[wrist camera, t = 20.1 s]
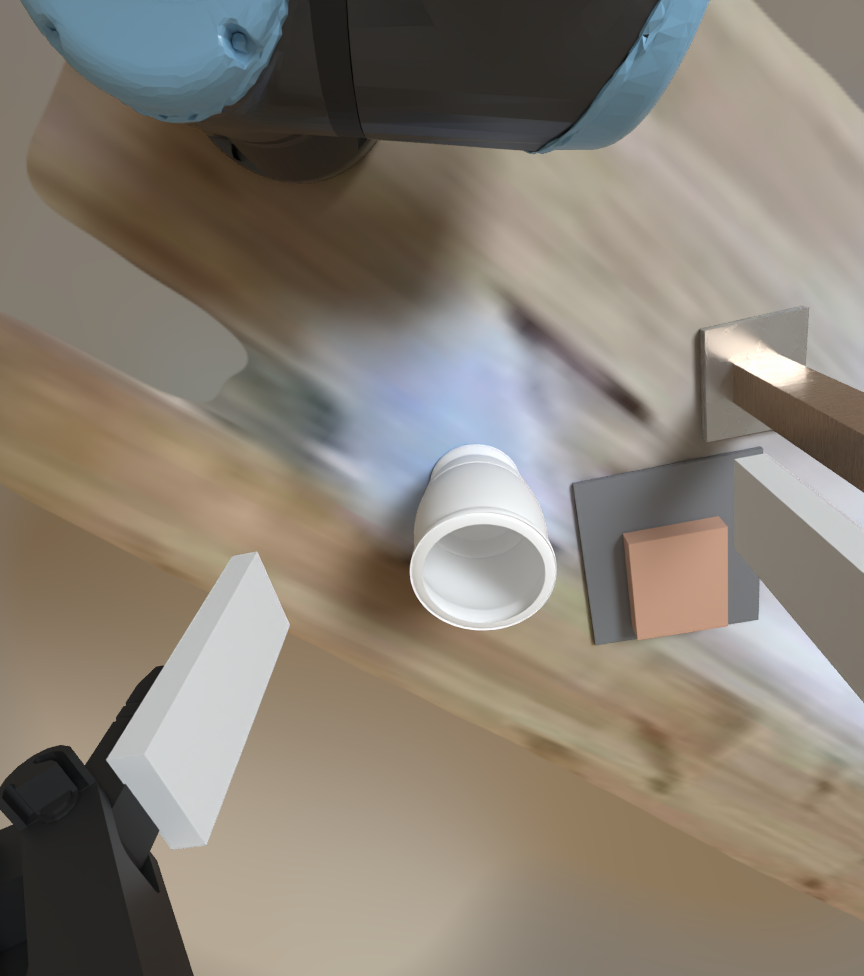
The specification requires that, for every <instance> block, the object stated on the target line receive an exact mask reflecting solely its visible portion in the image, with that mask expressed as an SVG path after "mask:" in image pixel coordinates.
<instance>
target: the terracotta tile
mask: <svg viewBox="0 0 864 976" xmlns="http://www.w3.org/2000/svg"><path fill="white" fill-rule="evenodd" d="M623 541H624V551H625V561H626V571H627V581H628V591H629V601H630V611H631V621H632V628H633V631H634V633H635V635H636V637H637V640H643V639H649V638H656V637H662V636H668V635H675V634H681V633H687V632H694V631H700V630H707V629H713V628H719V627H726V626H728V526H727V525H726V524H725V523H724V522H723V521H722V520H721V518H720V517H719V516H716V517H711V518H705V519H699V520H694V521H688V522H683V523H677V524H672V525H666V526H661V527H655V528H650V529H644V530H639V531H633V532H628V533H623Z"/></svg>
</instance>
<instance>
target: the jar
mask: <svg viewBox="0 0 864 976" xmlns="http://www.w3.org/2000/svg"><path fill="white" fill-rule="evenodd" d="M414 547H415V548H414V551H413V554H412V558H411V563H410V580H411V584H412V587H413V590H414V592H415V594H416V596H417V598H418V599H419V601H420V602H421V603H422V605H423V606H424V607H425V608H426V609H427V610H428V611H429V612H430V613H432V614H433V615H434V616H436V617H437V618H439V619H441V620H442V621H444V622H446V623H449V624H451V625H454V626H457V627H461V628H465V629H471V630H495V629H501V628H505V627H509V626H512V625H515V624H517V623H519V622H521V621H523V620H525V619H527V618H529V617H530V616H532V615H533V614H534V613H535V612H537V611H538V610H539V609H540V608H541V607H542V606H543V605H544V604H545V602H546V601H547V600H548V598H549V596H550V595H551V593H552V591H553V588H554V585H555V582H556V576H557V566H556V558H555V554H554V551H553V548H552V546H551V544H550V542H549V540H548V535H547V528H546V523H545V519H544V515H543V512H542V510H541V507H540V505H539V503H538V501H537V499H536V497H535V496H534V494H533V492H532V491H531V490H530V488H529V487H528V486H527V484H526V482H525V481H524V480H523V478H522V477H521V476H520V475H519V472H518V470H517V467H516V466H515V464H514V463H513V461H512V460H511V459H510V458H509V457H508V456H507V455H506V454H505V453H503V452H502V451H500V450H498V449H496V448H494V447H491V446H487V445H482V444H470V445H464V446H460V447H457V448H455V449H453V450H451V451H449V452H448V453H447V454H445V455H444V456H443V457H442V458H441V459H440V460H439V461H438V462H437V464H436V466H435V467H434V469H433V472H432V475H431V480H430V483H429V484H428V486H427V488H426V491H425V494H424V495H423V497H422V499H421V502H420V504H419V507H418V510H417V514H416V518H415V525H414Z"/></svg>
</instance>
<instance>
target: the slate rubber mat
mask: <svg viewBox="0 0 864 976" xmlns="http://www.w3.org/2000/svg"><path fill="white" fill-rule="evenodd" d="M759 454H763V448H762V447H755V448H750V449H745V450H740V451H735V452H730V453H725V454H719V455H714V456H709V457H704V458H699V459H694V460H689V461H683V462H678V463H673V464H668V465H663V466H658V467H653V468H648V469H642V470H637V471H632V472H627V473H622V474H617V475H612V476H607V477H601V478H596V479H591V480H586V481H581V482H576V483H573V490H574V497H575V505H576V512H577V519H578V526H579V533H580V540H581V548H582V555H583V562H584V569H585V576H586V583H587V591H588V598H589V605H590V612H591V619H592V626H593V633H594V641H595V644H596V645H600V644H606V643H612V642H619V641H625V640H631V639H637V637H636V635H635V633H634V631H633V628H632V621H631V611H630V601H629V591H628V581H627V571H626V561H625V551H624V541H623V533H628V532H633V531H639V530H644V529H650V528H655V527H661V526H666V525H672V524H677V523H683V522H688V521H694V520H699V519H705V518H711V517H716V516H719V517H720V518H721V520H722V521H723V522H724V523H725V524H726V525H727V526H728V624H733V623H740V622H746V621H752V620H758V614H759V577H758V576H757V575H756V573H755V572H754V571H753V570H752V569H751V567H750V566H749V565H748V564H747V563H746V562H745V560H744V559H743V558H742V557H741V556H740V554H739V553H738V552H737V551H736V550H735V548H734V459H738V458H743V457H748V456H753V455H759Z"/></svg>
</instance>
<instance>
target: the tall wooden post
mask: <svg viewBox="0 0 864 976" xmlns="http://www.w3.org/2000/svg"><path fill="white" fill-rule="evenodd" d="M808 318H809V308H808V307H804V306H799V307H794V308H790V309H786V310H781V311H777V312H772V313H768V314H763V315H759V316H754V317H750V318H745V319H741V320H736V321H732V322H727V323H723V324H718V325H714V326H709V327H705V328H700V350H701V392H702V434H703V439H704V440H705V441H706V442H712V441H717V440H723V439H728V438H733V437H738V436H743V435H748V434H753V433H758V432H763V431H768V430H774V431H775V432H777V433H778V434H779V435H781V436H782V437H784V438H785V439H787V440H788V441H790V442H791V443H792V444H794V445H795V446H797V447H798V448H800V449H801V450H803V451H804V452H806V453H807V454H808V455H810V456H811V457H813V458H814V459H816V460H817V461H819V462H820V463H822V464H823V465H824V466H826V467H827V468H829V469H830V470H832V471H833V472H835V473H836V474H838V475H839V476H840V477H842V478H843V479H845V480H846V481H848V482H849V483H851V484H852V485H853V486H855V487H856V488H858V489H859V490H861V491H862V492H864V392H861V391H859V390H857V389H855V388H853V387H850V386H848V385H846V384H844V383H841V382H839V381H837V380H835V379H832V378H830V377H828V376H826V375H823V374H821V373H819V372H817V371H815V370H812V369H810V368H808V367H806V351H807V334H808Z"/></svg>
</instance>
